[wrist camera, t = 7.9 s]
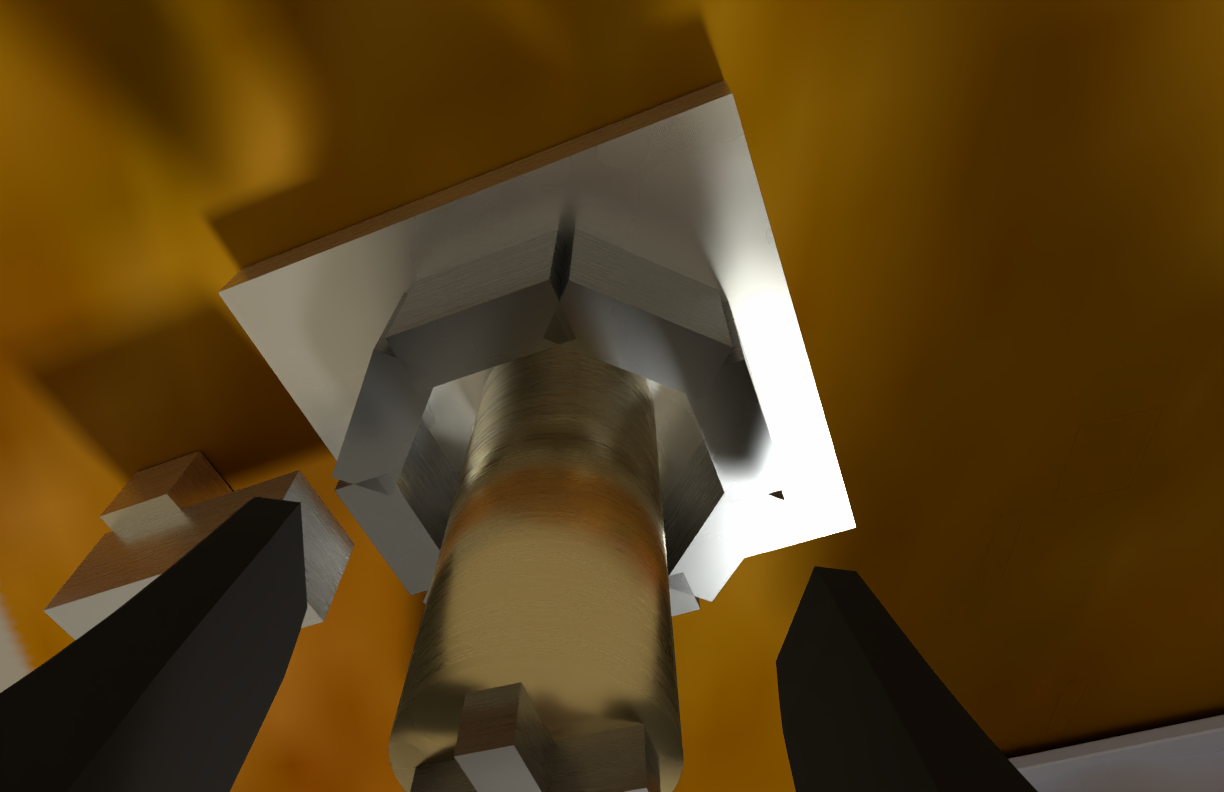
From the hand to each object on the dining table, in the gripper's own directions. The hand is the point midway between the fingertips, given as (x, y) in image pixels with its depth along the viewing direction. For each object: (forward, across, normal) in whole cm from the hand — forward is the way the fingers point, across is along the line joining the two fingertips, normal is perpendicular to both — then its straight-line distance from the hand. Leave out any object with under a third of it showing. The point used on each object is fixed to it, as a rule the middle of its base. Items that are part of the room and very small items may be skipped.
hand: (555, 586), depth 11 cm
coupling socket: (+5, +1, +4) cm, 6 cm away
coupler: (+4, 0, 0) cm, 4 cm away
